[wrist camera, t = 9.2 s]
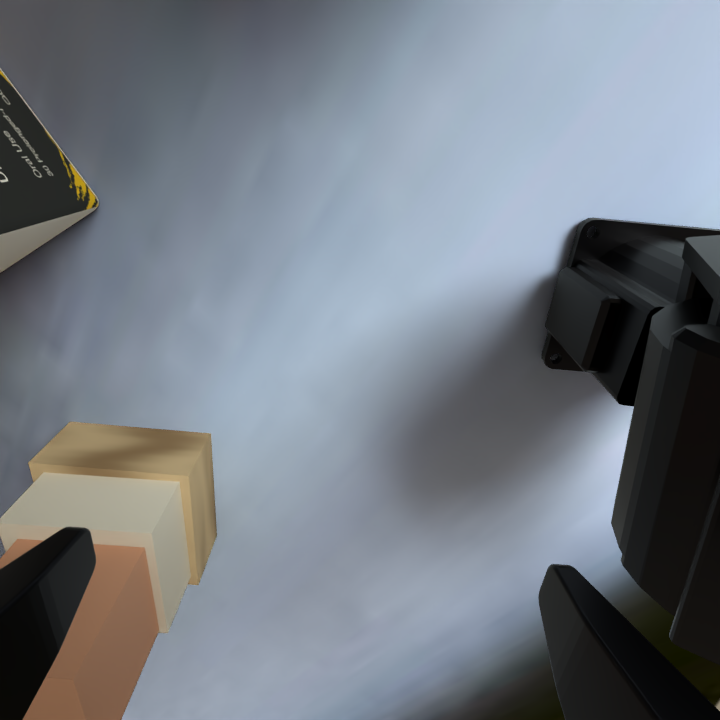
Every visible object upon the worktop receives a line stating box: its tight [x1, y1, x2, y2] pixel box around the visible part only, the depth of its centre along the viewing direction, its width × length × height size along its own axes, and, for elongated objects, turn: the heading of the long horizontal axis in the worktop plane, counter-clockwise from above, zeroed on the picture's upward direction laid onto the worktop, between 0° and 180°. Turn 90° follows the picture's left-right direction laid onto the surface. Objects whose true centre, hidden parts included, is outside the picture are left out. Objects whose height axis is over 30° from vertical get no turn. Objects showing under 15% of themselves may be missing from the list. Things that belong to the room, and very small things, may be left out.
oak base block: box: [28, 422, 217, 585], centre depth 24 cm, size 7×7×4 cm
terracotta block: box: [0, 539, 159, 720], centre depth 18 cm, size 5×5×5 cm
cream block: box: [0, 472, 191, 633], centre depth 21 cm, size 6×6×3 cm
